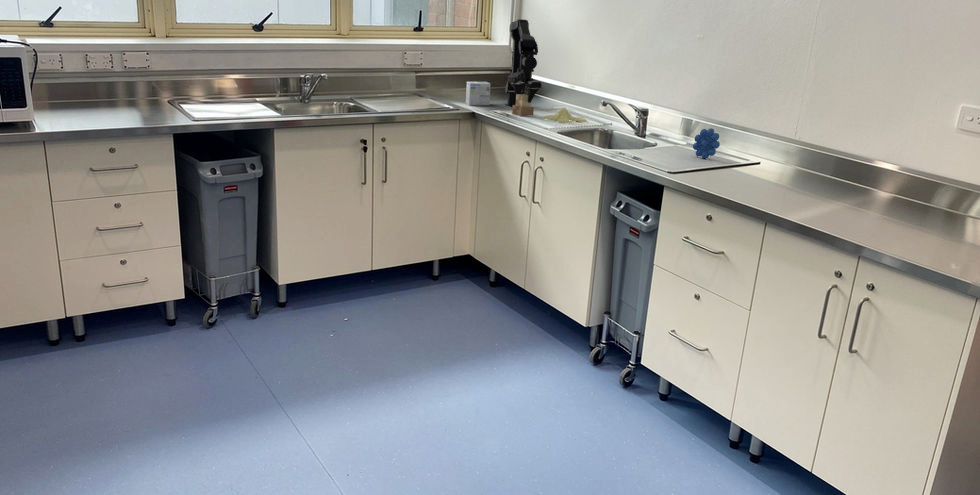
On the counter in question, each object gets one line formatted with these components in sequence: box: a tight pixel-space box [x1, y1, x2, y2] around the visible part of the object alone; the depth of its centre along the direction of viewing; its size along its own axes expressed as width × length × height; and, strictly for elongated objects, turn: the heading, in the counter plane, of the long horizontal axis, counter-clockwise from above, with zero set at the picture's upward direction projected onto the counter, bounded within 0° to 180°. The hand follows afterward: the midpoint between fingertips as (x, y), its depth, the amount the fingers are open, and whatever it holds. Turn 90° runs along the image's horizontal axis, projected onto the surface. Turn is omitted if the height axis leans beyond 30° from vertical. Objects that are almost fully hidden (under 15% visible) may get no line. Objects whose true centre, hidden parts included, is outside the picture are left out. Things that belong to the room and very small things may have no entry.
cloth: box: [543, 107, 588, 125], centre depth 376 cm, size 22×19×6 cm
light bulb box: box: [465, 81, 491, 106], centre depth 400 cm, size 11×7×11 cm, turn 108°
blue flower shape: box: [692, 127, 721, 159], centre depth 312 cm, size 12×7×12 cm, turn 39°
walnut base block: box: [511, 105, 534, 117], centre depth 381 cm, size 7×7×4 cm
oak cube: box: [516, 93, 532, 107], centre depth 380 cm, size 5×5×5 cm
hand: (523, 101), depth 380 cm, fingers open, 9 cm apart
